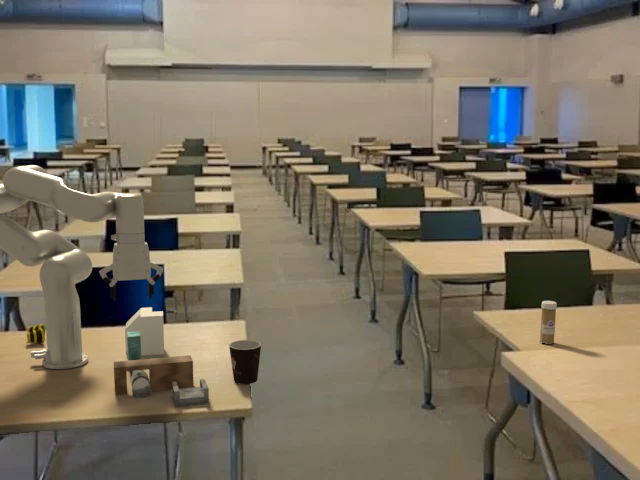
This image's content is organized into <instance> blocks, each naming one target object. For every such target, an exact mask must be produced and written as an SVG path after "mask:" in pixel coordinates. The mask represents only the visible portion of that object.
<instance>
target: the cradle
mask: <svg viewBox="0 0 640 480" xmlns="http://www.w3.org/2000/svg"><path fill="white" fill-rule="evenodd" d="M209 393H210V390H209V386H208V383H207V381H206V379H205V378H200V379H199V386H193V387H190V388H180V389H179V388H178V385H177V382H172V389H171V399H172V402H173V406H174V408H178V407H189V406H198V405H208V404H210V395H209Z"/></svg>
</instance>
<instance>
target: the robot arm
mask: <svg viewBox="0 0 640 480" xmlns="http://www.w3.org/2000/svg"><path fill="white" fill-rule="evenodd" d="M28 202H35V203H37V204H41V205H43V206H47V207H50V208H53V209H54V210H55V211H56V212H59V213H60V214H62V215H64V216H66V217H69V218H72V219H76V220H80V221H83V222H87V223H99V222H101V221H102V222H103V221H105V220H110V219H115V229H116V230H115V234H112V235H110V240H112V241H115V243H114V244H113V249H112V263H111V264H109V265H108V266H106V267H104V268H102V269H100V270H99V271H98V273H99V275H100V277H101V278H102V280H103V282H104V283H106V284H107V285H108V286H109V287H110V288H109V289H110V298H112V300H113V301H114V302H116V301H117V285H116V284H117V283H118V281H120V282H121V281H122V282H123V281H136V280H137V281H140V280H147V282H148V283H147V291H148V293H147V295H148V299H150V300H151V299H153V296H154V295H155V287H154V285H155V284H156V282H158V280H160V278H161V276H162V274H163V273H164V268H163V266H159V265H158V264H155V263H153V262H151V257H150V249H149V245H148V243H147V241H145V237H146V236H145V214H144V213H145V210H144V209H145V208H144V197H143V195H141V194H140V193H119V192H113V191H102V192H98V193H94V194H93V193H92V194H91V193H90V194H89V193H85V192H81V191H78V190H76V189H75V190H74V189H72V188H69V187H67V182H66V180H65V179H64V178H63V177H59V176H55V175H52V174H49V173H48V172H47V170H45V168H44V167H41V166H40V165H35V164H29V165H21V166H20V165H19V166H14V167H11V168H9V169H8V170H7V171H6V172H5V173H4V175H3V177H2V182H1V183H0V249H1V250H2V251H3V252H5V253H7V254H8V255H9V256H11V258H13V259H15V260H16V261H17V262H19V263H20V264H21V265H24V266H25V267H36V266H39V265H41V267H40V269H39V281H40V284H41V286H40V287H41V289H42V294H43V301H44V303H43V304H44V314H45V315H44V316H45V335H46V348H44V349H42V350H30V357H31V359H35V360H40V359H42V360H41V363H42V366H43V367H44V368H45V369H48V370H49V369H51V370H69V369H74V368H77V367H80V366H83V365H85V364H87V362H88V361H89V355H87V354H85V353H83V340H82V338H83V337H82V321H81V317H82V316H81V304H80V297H79V294H78V291H77V288H76V284H78V283H81V282H82V281H85V280H86V279H87V278H88V277H89V276H90V275H91V273H92V271H93V263H92V259H91V258H90V256H89V255H88V254H87V253H86V251H84V250H82V249H81V247H79V246H77V245H76V244H74V243H73V242H71V241H70V240H69V239H67V238H66V237H64V236H63V235H61V234H60V233H58V232H56V231H54V230H50V229H40V230H37V231H31V230H29V229H27V228H25V227H24V226H23V225H21V224H20V223H18V221H15V220H14V219H12V218H9V217H7V216H5V215H2V214H4V213H9V212H12V211H14V210H16V209H18V208H19V207H21V206H23V205H25V204H26V203H28ZM152 269H153V270H155V271H156V274H155V275H154V276H152V275H151V274H152V272H151V271H152ZM111 271H112V275H113V277H112V278H109V277H108V276H107V273H109V272H111Z"/></svg>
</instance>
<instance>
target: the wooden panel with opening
mask: <svg viewBox="0 0 640 480" xmlns="http://www.w3.org/2000/svg"><path fill="white" fill-rule="evenodd" d="M137 370H141V371H145V370H148V378H149V382H150V386H151V391H150V392H158V391H167V390H168V391H169V390H172V382H177V385H178V388H179V389H182V388H192V387H194V361H193V358H192V355H190V354H189V355H177V356H167V357H155V358H143V359H142V358H141V360H130V361H128V360H122V361H121V360H119V361H113V378H114V380H113V382H114V383H113V384H114V395H115V396H118V395H125V394H126V395H127V394H128V377H127V376H128V375H127V372H132V371H137Z"/></svg>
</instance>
